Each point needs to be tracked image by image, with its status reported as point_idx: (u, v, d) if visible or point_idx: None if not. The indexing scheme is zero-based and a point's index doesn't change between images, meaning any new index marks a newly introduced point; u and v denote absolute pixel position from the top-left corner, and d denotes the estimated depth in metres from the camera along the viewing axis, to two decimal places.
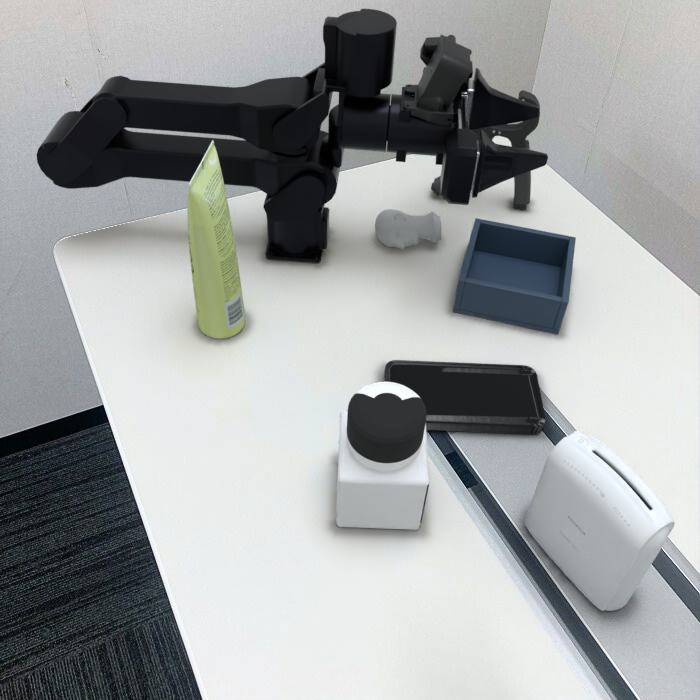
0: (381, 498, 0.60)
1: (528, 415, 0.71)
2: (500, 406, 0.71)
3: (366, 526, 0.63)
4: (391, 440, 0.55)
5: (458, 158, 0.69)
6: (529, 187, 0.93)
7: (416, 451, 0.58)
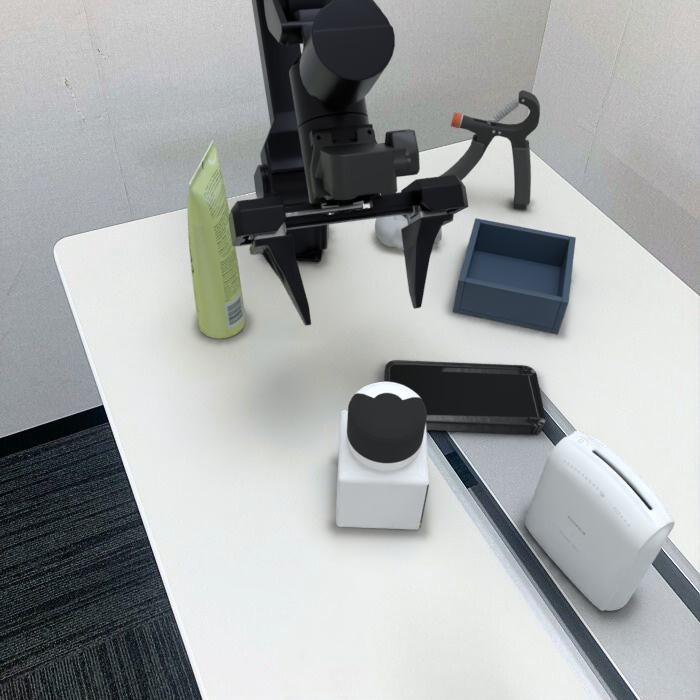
0: (381, 498, 0.60)
1: (528, 415, 0.71)
2: (500, 406, 0.71)
3: (366, 526, 0.63)
4: (391, 440, 0.55)
5: (232, 216, 0.57)
6: (529, 187, 0.93)
7: (416, 451, 0.58)
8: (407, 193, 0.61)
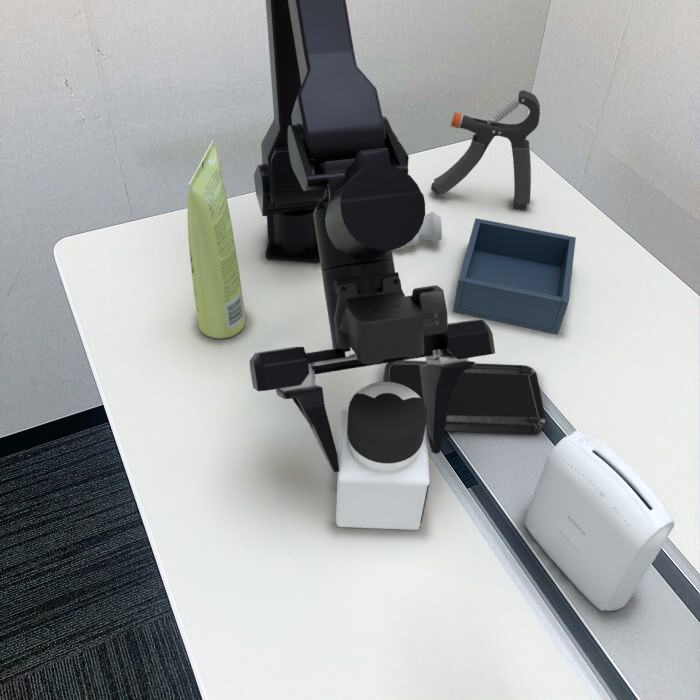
0: (382, 498, 0.60)
1: (528, 415, 0.71)
2: (500, 406, 0.71)
3: (366, 526, 0.63)
4: (392, 441, 0.55)
5: (254, 369, 0.55)
6: (529, 187, 0.93)
7: (416, 451, 0.58)
8: (432, 336, 0.60)
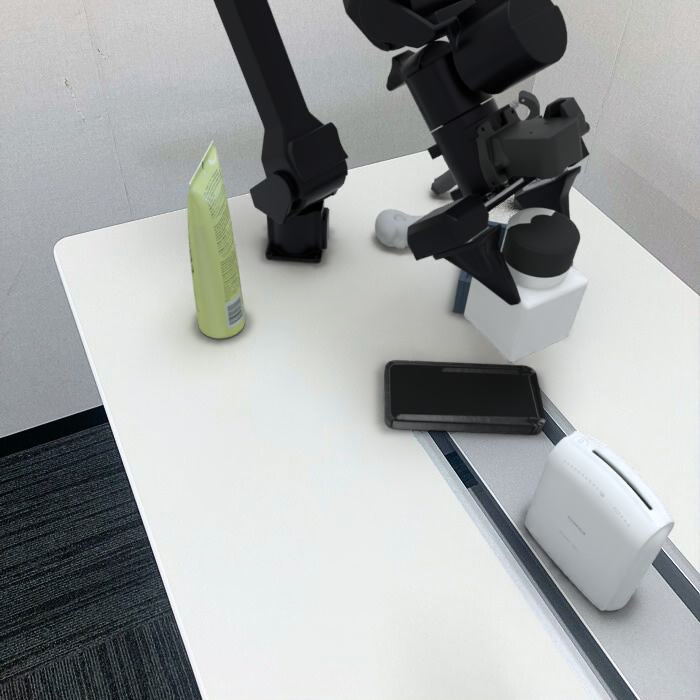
0: (553, 313, 0.65)
1: (528, 415, 0.71)
2: (500, 406, 0.71)
3: (532, 351, 0.68)
4: (570, 248, 0.61)
5: (445, 228, 0.56)
6: None
7: None
8: None
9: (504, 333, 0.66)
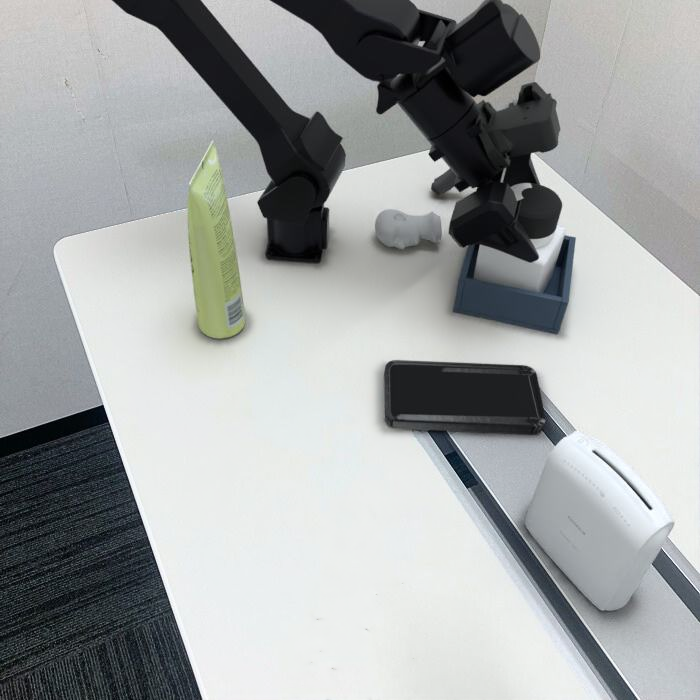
0: (551, 262, 0.80)
1: (528, 415, 0.71)
2: (500, 406, 0.71)
3: None
4: (560, 207, 0.76)
5: (495, 212, 0.68)
6: None
7: None
8: None
9: None
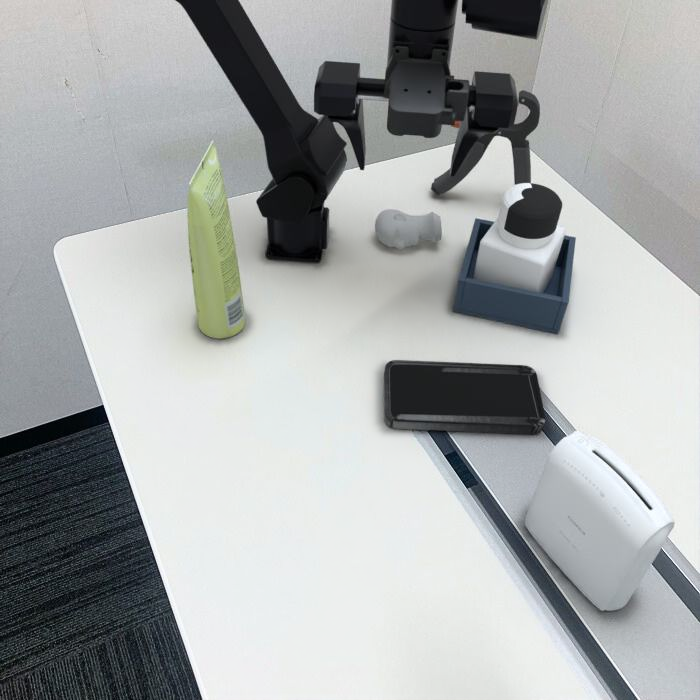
0: (551, 262, 0.80)
1: (528, 415, 0.71)
2: (500, 406, 0.71)
3: None
4: (560, 207, 0.76)
5: (314, 93, 0.70)
6: None
7: None
8: (470, 91, 0.70)
9: None
